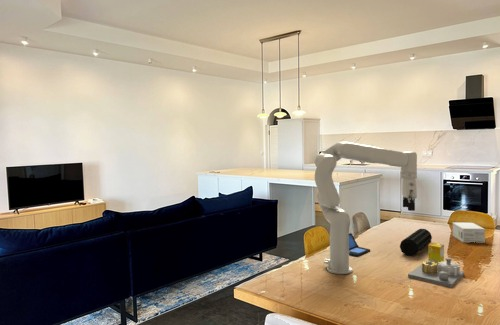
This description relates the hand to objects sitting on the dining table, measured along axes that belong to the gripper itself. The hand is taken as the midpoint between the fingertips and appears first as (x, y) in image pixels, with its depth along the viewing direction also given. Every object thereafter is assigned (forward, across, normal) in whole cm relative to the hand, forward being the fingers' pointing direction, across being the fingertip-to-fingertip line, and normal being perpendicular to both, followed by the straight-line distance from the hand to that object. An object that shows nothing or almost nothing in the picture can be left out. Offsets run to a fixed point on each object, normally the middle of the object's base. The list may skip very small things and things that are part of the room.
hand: (408, 208), depth 189 cm
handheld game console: (+31, +24, +24) cm, 46 cm away
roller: (+31, +34, -14) cm, 48 cm away
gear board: (+30, -13, -9) cm, 34 cm away
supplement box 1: (+31, +3, -14) cm, 34 cm away
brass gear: (+29, -11, -7) cm, 32 cm away
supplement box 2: (+31, +58, -52) cm, 83 cm away
